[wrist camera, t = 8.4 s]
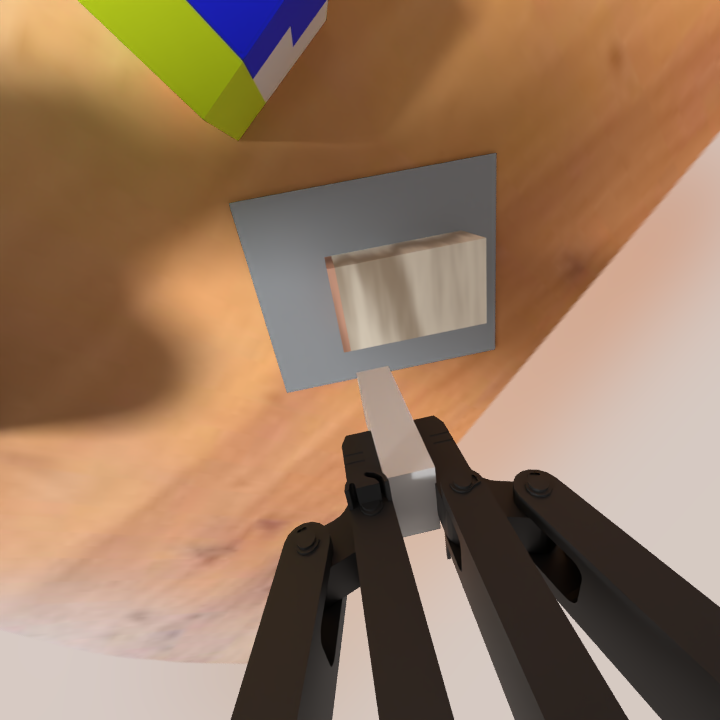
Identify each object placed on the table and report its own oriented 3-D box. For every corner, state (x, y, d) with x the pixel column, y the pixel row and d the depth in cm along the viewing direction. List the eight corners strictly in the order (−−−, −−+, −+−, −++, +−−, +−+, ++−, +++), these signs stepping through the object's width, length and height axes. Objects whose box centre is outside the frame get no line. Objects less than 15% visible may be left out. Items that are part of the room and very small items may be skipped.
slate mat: (287, 390, 37) (287, 392, 36) (229, 203, 29) (228, 203, 28) (493, 347, 38) (495, 349, 37) (494, 153, 29) (496, 152, 29)
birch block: (344, 352, 30) (486, 323, 30) (326, 269, 27) (486, 237, 27) (339, 330, 34) (463, 305, 35) (324, 257, 31) (461, 230, 31)
